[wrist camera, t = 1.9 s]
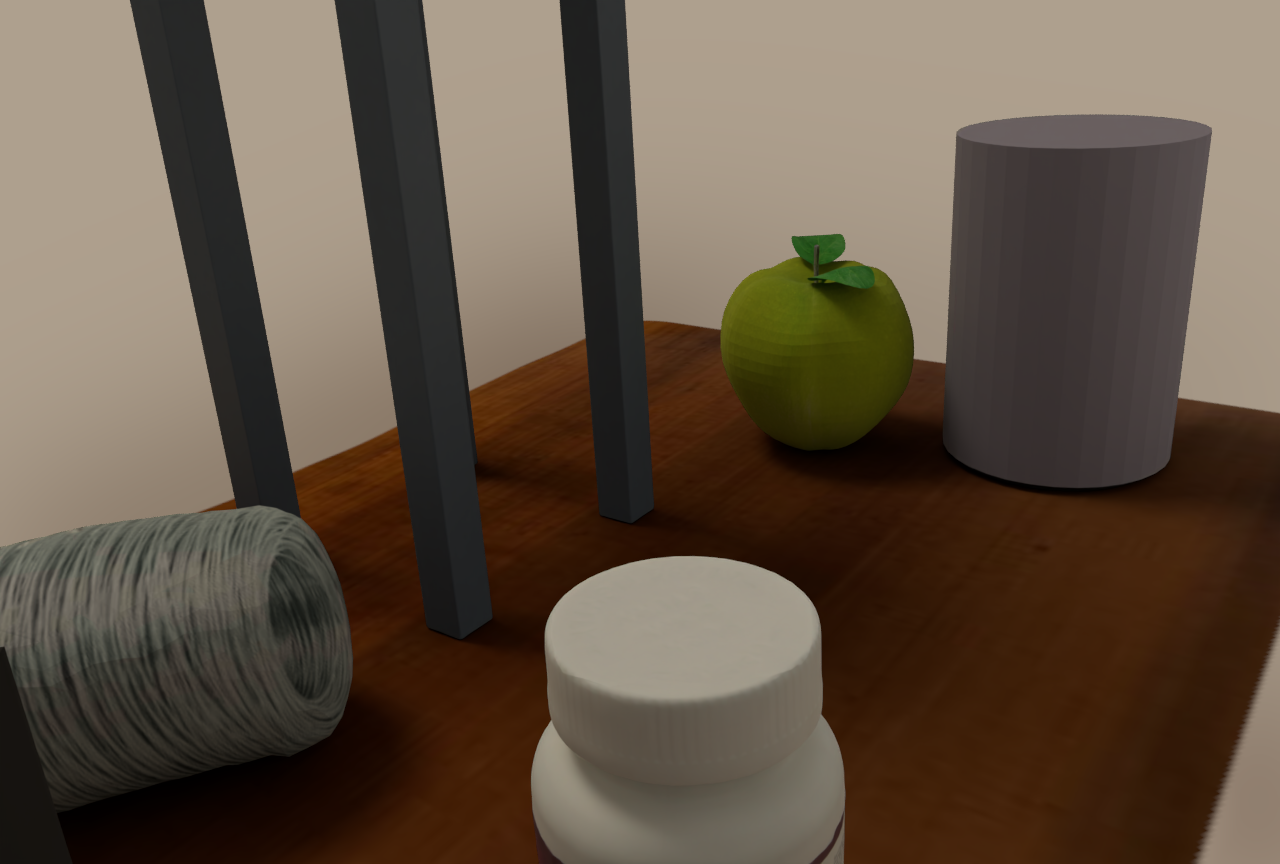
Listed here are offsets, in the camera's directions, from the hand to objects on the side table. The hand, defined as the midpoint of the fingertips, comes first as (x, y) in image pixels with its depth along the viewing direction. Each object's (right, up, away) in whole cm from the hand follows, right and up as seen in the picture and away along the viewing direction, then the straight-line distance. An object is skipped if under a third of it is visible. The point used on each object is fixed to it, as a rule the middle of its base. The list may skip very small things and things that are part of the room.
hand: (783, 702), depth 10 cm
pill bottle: (0, -12, +15) cm, 19 cm away
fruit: (+8, +2, +47) cm, 48 cm away
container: (+19, +1, +45) cm, 48 cm away
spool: (-17, -8, +26) cm, 32 cm away
